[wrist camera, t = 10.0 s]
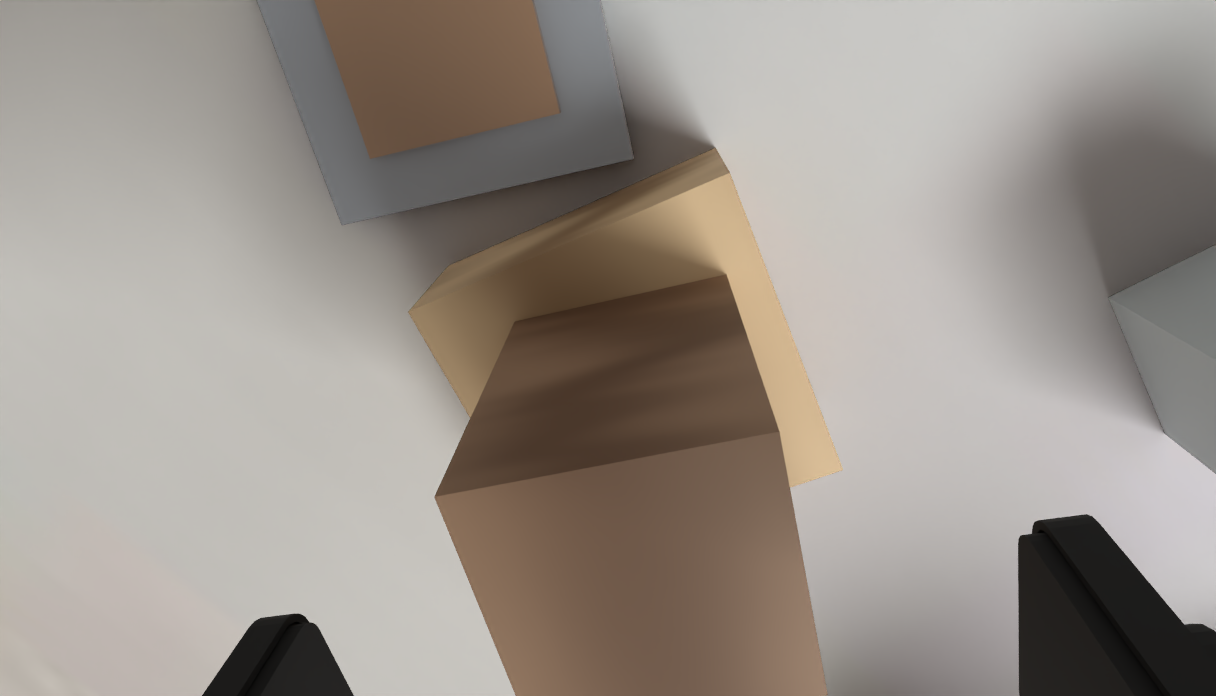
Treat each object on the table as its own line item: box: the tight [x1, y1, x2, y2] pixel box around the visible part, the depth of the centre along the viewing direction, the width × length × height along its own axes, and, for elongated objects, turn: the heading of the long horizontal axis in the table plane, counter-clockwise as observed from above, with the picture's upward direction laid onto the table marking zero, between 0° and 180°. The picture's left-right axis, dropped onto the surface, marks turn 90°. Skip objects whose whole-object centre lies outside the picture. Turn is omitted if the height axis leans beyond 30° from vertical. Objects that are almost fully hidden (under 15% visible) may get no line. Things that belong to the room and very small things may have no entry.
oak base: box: [408, 148, 843, 487], centre depth 19 cm, size 8×8×4 cm
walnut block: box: [435, 274, 828, 696], centre depth 14 cm, size 5×5×7 cm
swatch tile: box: [257, 0, 634, 225], centre depth 17 cm, size 8×8×1 cm
